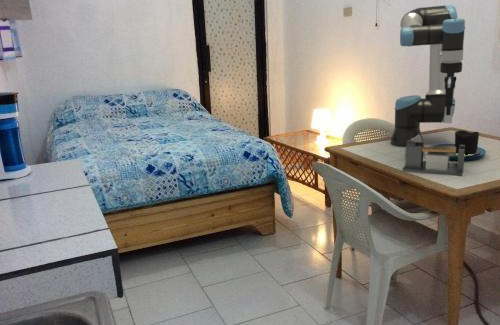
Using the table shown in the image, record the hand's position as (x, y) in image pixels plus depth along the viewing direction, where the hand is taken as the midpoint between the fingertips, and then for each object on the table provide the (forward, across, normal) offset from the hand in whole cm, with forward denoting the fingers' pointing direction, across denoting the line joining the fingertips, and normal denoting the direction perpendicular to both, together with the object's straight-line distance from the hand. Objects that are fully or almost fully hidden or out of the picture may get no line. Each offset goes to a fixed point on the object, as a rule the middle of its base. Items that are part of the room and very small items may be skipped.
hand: (447, 122), depth 172 cm
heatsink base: (+19, +1, -4) cm, 20 cm away
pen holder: (+20, -22, +7) cm, 31 cm away
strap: (+12, 0, -4) cm, 12 cm away
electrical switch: (+20, -16, -13) cm, 29 cm away
